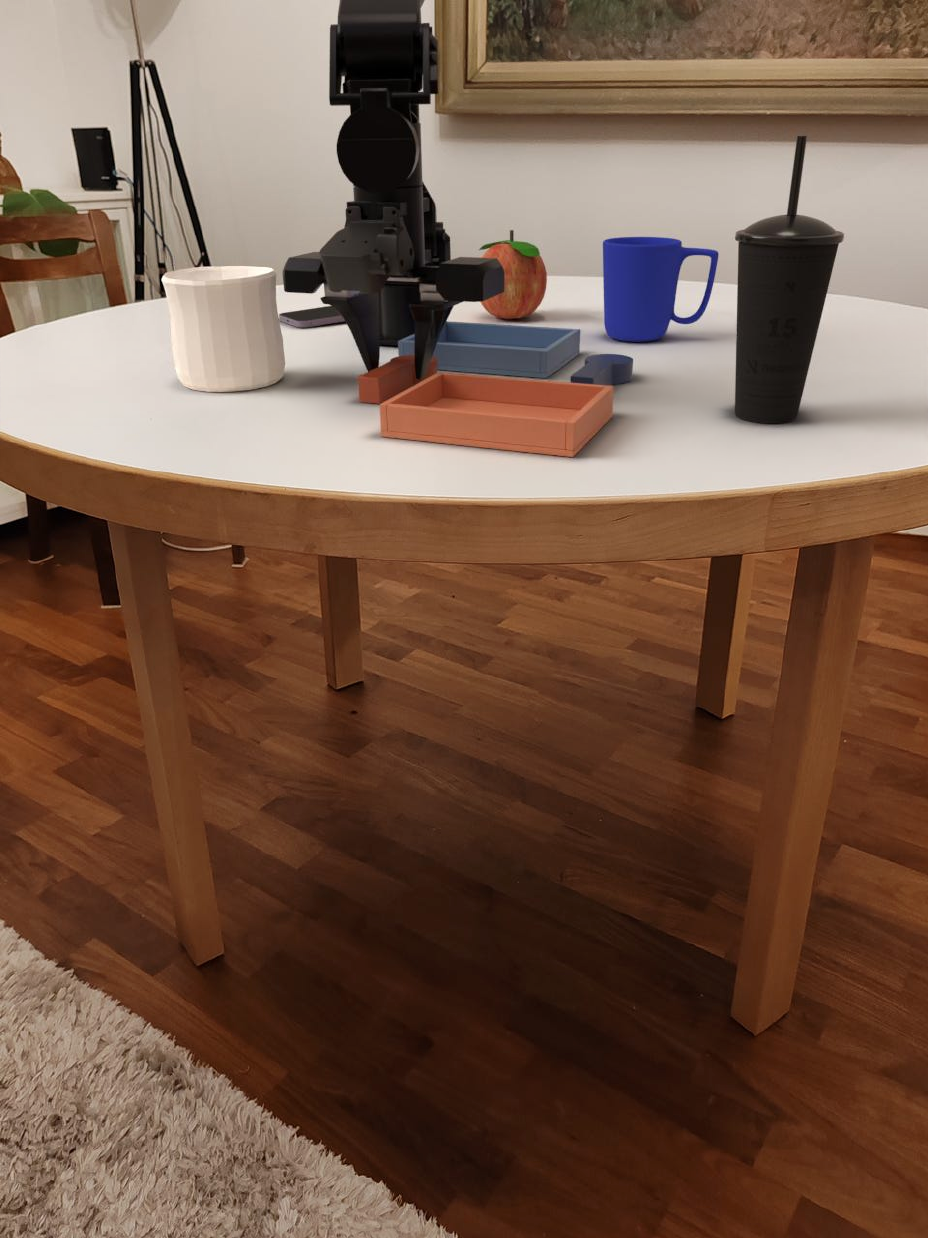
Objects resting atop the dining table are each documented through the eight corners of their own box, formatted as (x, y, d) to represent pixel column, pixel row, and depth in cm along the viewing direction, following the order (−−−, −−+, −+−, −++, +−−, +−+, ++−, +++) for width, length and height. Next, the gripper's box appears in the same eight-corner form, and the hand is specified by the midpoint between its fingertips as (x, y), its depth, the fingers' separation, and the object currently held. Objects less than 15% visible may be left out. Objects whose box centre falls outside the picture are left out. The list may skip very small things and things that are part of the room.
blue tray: (398, 366, 93) (397, 340, 92) (443, 344, 103) (443, 320, 101) (546, 378, 88) (547, 351, 87) (579, 353, 97) (580, 329, 96)
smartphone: (275, 313, 117) (382, 297, 124) (276, 322, 118) (383, 306, 124) (299, 322, 112) (410, 304, 118) (300, 331, 112) (410, 314, 119)
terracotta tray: (380, 436, 72) (379, 404, 71) (439, 401, 82) (438, 371, 80) (573, 457, 67) (574, 422, 66) (612, 416, 76) (614, 385, 75)
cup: (171, 375, 91) (154, 268, 87) (274, 365, 95) (263, 261, 90) (184, 398, 84) (166, 281, 79) (295, 386, 87) (285, 274, 82)
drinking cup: (703, 404, 79) (731, 136, 70) (792, 401, 80) (831, 134, 71) (734, 430, 72) (769, 136, 63) (831, 426, 73) (880, 134, 64)
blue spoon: (606, 404, 80) (607, 378, 79) (555, 400, 81) (556, 374, 80) (636, 374, 89) (638, 351, 88) (591, 371, 90) (592, 348, 89)
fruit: (518, 308, 122) (519, 225, 117) (563, 319, 115) (566, 231, 110) (461, 315, 118) (460, 229, 113) (503, 327, 111) (503, 235, 106)
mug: (710, 347, 99) (721, 245, 95) (595, 344, 102) (600, 244, 97) (708, 332, 107) (718, 236, 102) (600, 329, 109) (605, 236, 104)
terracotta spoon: (392, 405, 80) (391, 379, 79) (346, 400, 82) (344, 375, 81) (445, 375, 90) (444, 352, 89) (403, 372, 91) (402, 348, 90)
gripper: (236, 191, 75) (258, 389, 82) (454, 193, 68) (458, 408, 76) (308, 183, 84) (323, 362, 91) (507, 185, 77) (506, 377, 85)
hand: (396, 376), depth 85 cm, fingers open, 4 cm apart
